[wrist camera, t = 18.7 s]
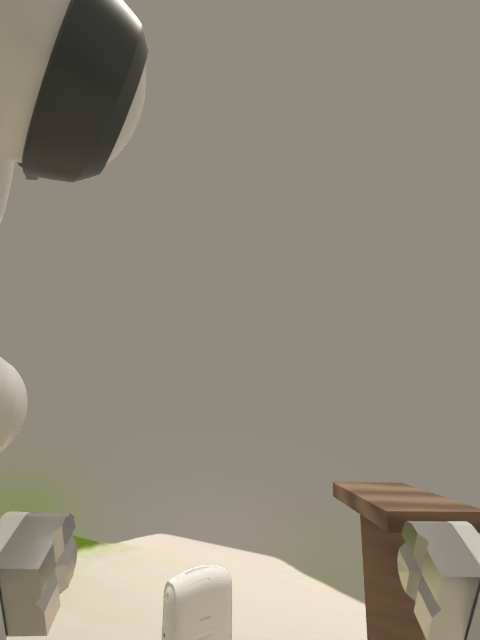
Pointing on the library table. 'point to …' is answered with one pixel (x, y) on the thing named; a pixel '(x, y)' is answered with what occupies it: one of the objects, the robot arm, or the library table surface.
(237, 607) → the library table surface
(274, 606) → the library table surface
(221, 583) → the photo printer
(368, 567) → the post
